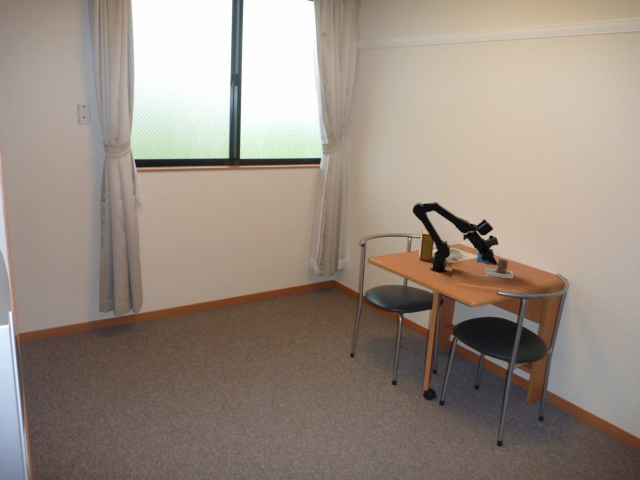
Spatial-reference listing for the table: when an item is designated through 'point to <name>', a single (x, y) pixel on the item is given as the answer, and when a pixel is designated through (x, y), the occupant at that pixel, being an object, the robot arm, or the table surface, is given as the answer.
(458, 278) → the table surface
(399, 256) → the table surface
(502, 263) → the block
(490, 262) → the perfume bottle
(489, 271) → the trap track
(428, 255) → the baking soda box
